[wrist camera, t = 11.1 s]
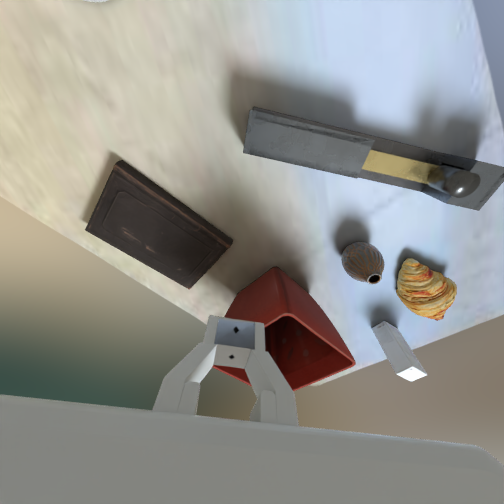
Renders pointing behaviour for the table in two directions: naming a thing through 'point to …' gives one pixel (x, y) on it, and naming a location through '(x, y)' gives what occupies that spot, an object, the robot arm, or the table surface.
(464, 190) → the sliding bolt
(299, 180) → the table surface
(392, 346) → the skincare box
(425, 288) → the croissant
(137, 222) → the hardcover book
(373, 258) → the vase
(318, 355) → the plant pot
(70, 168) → the table surface
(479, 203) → the guide
